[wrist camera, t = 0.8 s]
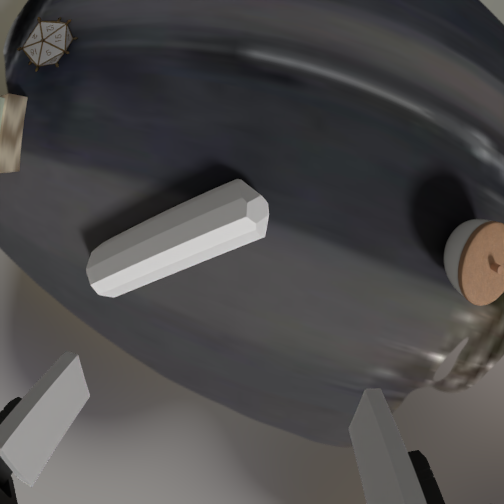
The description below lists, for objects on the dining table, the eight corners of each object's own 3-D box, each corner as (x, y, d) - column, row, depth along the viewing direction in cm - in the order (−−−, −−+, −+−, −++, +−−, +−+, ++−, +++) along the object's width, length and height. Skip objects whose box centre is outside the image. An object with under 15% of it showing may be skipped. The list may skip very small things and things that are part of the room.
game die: (67, 66, 33) (11, 79, 26) (69, 19, 28) (13, 29, 21) (88, 60, 29) (22, 74, 22) (92, 6, 24) (24, 14, 17)
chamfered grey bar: (247, 154, 29) (72, 242, 33) (271, 214, 27) (79, 296, 31) (261, 185, 36) (107, 254, 40) (282, 236, 34) (115, 302, 38)
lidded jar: (485, 209, 33) (527, 221, 24) (481, 278, 36) (518, 301, 26) (431, 215, 34) (473, 229, 25) (429, 290, 36) (463, 319, 27)
